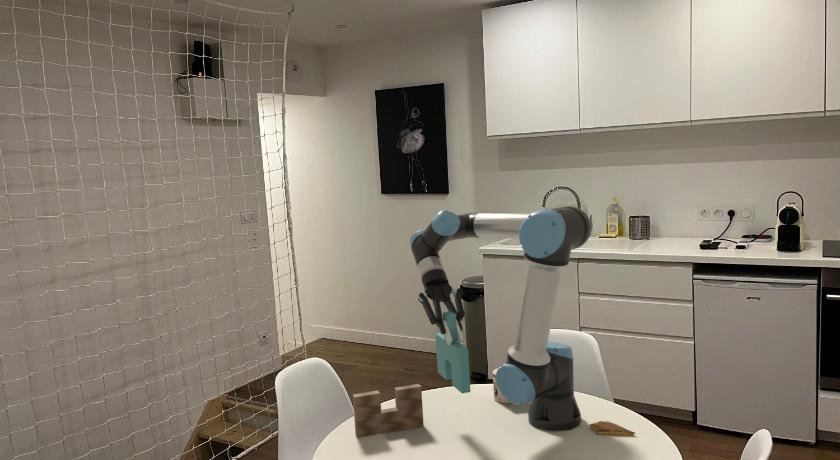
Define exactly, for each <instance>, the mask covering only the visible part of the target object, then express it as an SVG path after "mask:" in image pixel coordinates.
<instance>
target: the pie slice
mask: <svg viewBox="0 0 840 460" xmlns="http://www.w3.org/2000/svg"><path fill="white" fill-rule="evenodd" d="M588 427H589V428H590V429H592V430H593V431H594V432H595V433H596V435H599V436H601V435H602V436H605V435H608V436H609V435H610V436H621V437H622V436H623V437H633V436H635V434H636V432H634V431H632V430H629V429H627V428H625V427H624V426H621V425H619V424H617V423H613V422H612V421H608V420H600V421H596V422H594V423H590V424H589V426H588Z"/></svg>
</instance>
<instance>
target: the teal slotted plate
mask: <svg viewBox="0 0 840 460" xmlns="http://www.w3.org/2000/svg"><path fill="white" fill-rule="evenodd" d="M442 317H443V321H446V322H447V325H448V328H449V331H450V334H451V337H452V343H451V345H449V346H448V344H447V341H446V338H445V335H444V334H443V335H442V334H441V332H438V333H435V348H436V365H437V368H436V369H437V373H438V374H439V375H440V376H441V377H442V378H443V379H444V380H446V381H447V380H451V385H452V386H453V387H454V388H455V389H456V391H458V392H460V393H461V394H468V393H471V379H470V378H471V377H470V359H469V358H470V357H469V356H470V355H469V348H467V347H466V346H464V345H463V344H462V343H461V344H460V343H458V340H457V324H456V314H455V313H453V312H449V311H445V312H442Z"/></svg>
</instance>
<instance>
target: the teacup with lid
mask: <svg viewBox="0 0 840 460" xmlns="http://www.w3.org/2000/svg"><path fill="white" fill-rule="evenodd" d="M505 363H506V362H505ZM505 363H503V364H505ZM498 368H499V367H497V368H495V369H493V371H492V377H493V378H492V381H493V383H492V384H493V399H494V401H495V402H497V403H499V404H512V403H511V402H509V401H508V400H507V399H506V398H505V397H504V396H503V395H502V394H501V391H500V390H499V389H498V386H497V383H496V372H497V370H498Z"/></svg>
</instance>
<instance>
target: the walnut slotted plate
mask: <svg viewBox="0 0 840 460" xmlns="http://www.w3.org/2000/svg"><path fill="white" fill-rule="evenodd" d="M394 397H395V398H394V399H395V407H392V408H385V409H382V403H381V392H380V390H372V391H366V392H361V393H360V392H359V393H355V394H352V402H353V419H354V431H355V432H354V433H355V436H356V438H357V439H358V438H364V437H369V436H370V437H371V436H376V435H380V434H385V433H386V434H387V433H390V432H391V433H392V432H396V431H398V432H399V431H403V430H408V429H413V428H418V427H424V410H423V408H424V407H423V394H422V385H420V383H416V384H409V385H404V386H397V387H394Z"/></svg>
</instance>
